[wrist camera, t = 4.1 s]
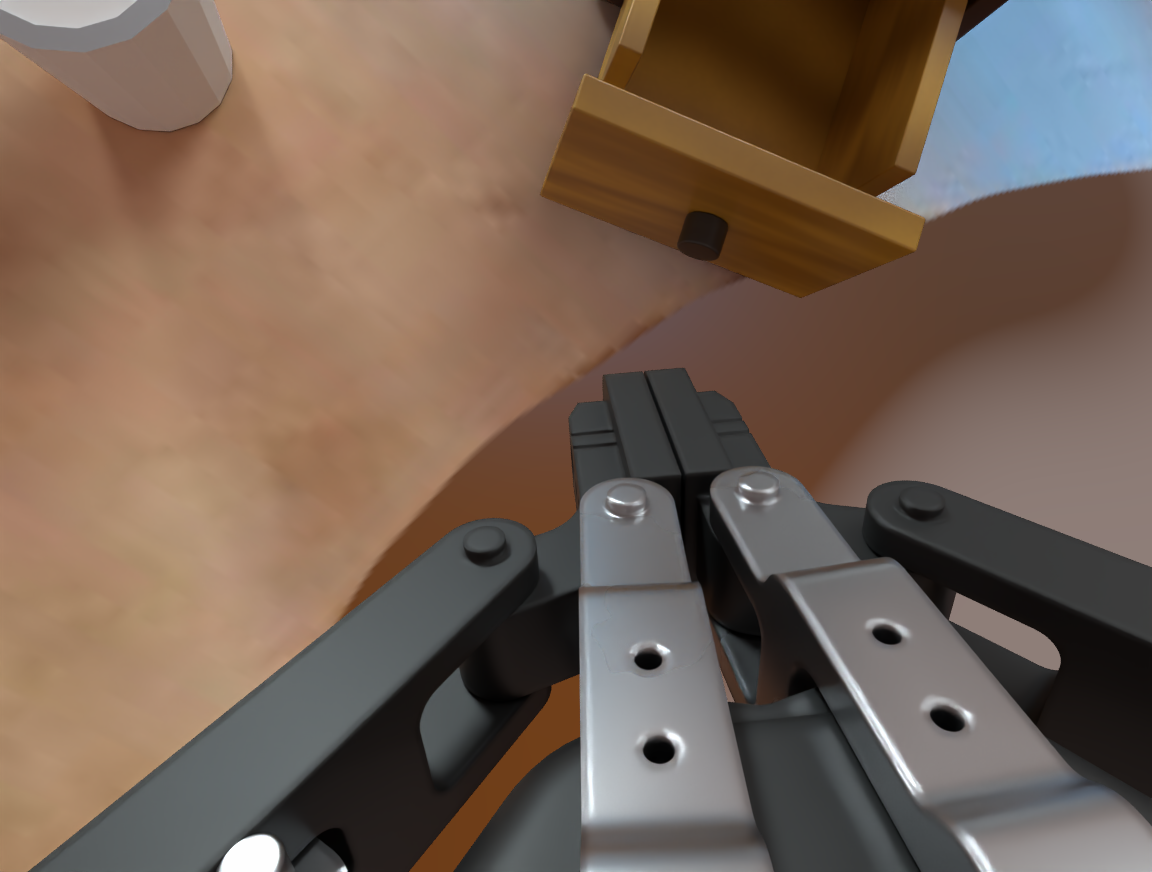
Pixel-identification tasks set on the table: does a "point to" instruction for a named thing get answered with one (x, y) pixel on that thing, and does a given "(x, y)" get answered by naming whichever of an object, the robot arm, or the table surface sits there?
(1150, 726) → the robot arm
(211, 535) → the table surface
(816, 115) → the wooden drawer
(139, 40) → the white faceted cylinder
